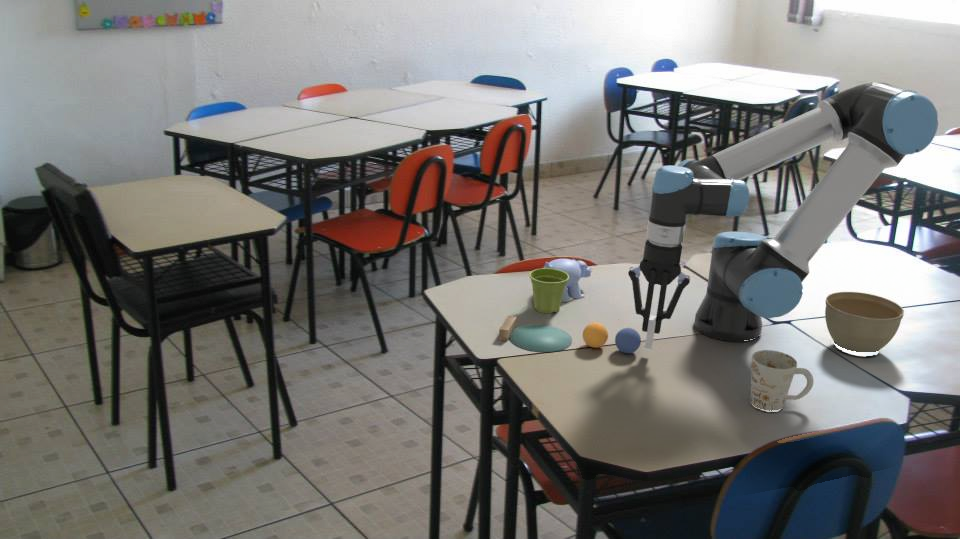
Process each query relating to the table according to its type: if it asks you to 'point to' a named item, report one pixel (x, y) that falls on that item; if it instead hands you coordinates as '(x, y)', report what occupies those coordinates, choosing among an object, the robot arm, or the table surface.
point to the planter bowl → (862, 320)
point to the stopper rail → (507, 328)
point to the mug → (774, 379)
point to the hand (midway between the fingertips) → (648, 345)
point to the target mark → (540, 338)
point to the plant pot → (548, 288)
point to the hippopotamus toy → (571, 276)
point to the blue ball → (627, 340)
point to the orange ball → (595, 335)
